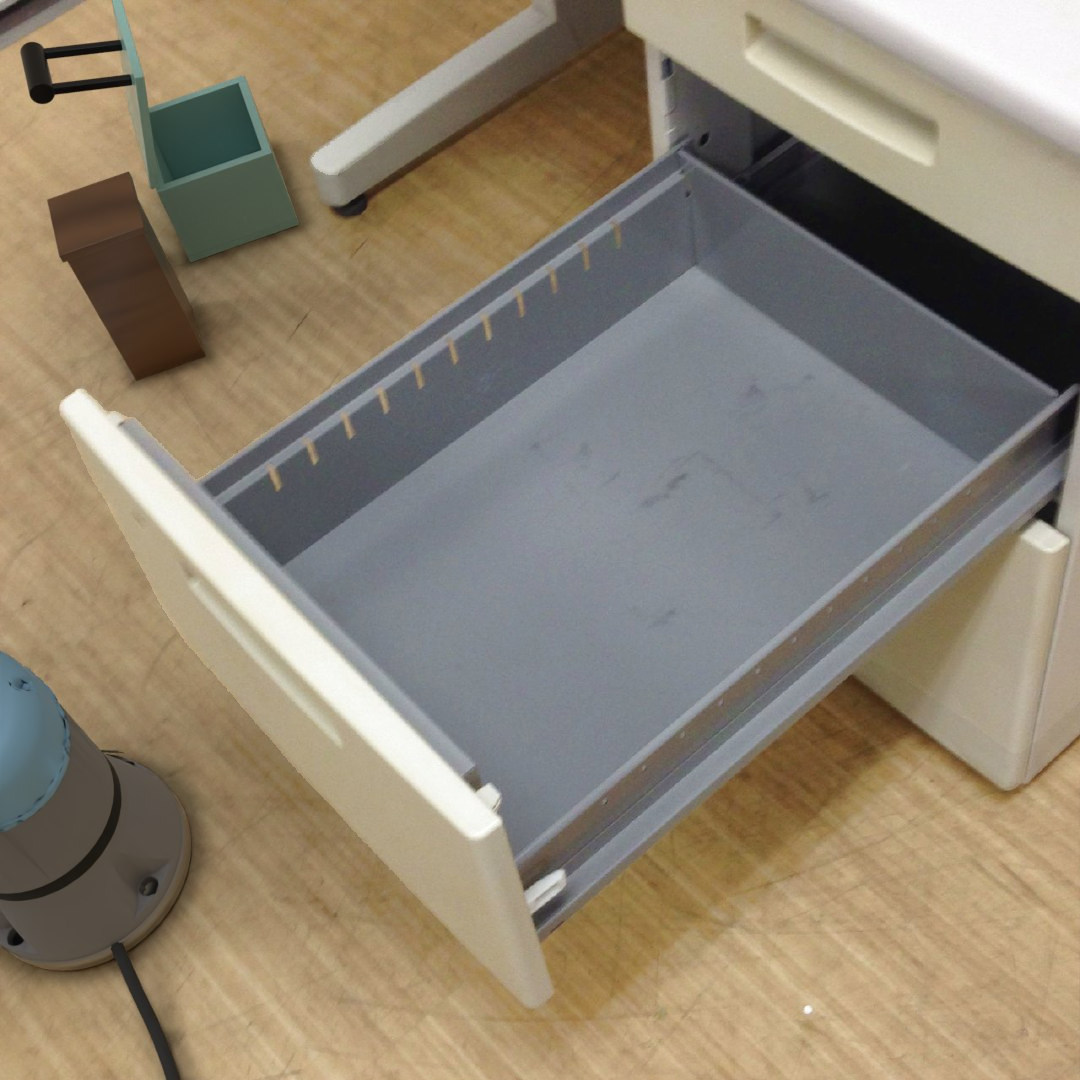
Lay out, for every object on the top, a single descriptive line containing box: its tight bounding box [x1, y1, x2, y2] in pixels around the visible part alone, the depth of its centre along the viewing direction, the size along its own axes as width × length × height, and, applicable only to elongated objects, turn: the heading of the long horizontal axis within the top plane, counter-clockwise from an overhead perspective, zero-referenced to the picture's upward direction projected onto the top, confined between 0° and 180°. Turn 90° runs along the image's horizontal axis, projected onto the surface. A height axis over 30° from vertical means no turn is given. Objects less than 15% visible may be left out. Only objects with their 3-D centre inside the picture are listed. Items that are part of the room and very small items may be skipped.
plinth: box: [46, 171, 206, 381], centre depth 128 cm, size 7×7×16 cm
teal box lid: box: [19, 0, 160, 190], centre depth 130 cm, size 11×12×9 cm
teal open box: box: [148, 74, 300, 263], centre depth 140 cm, size 11×12×9 cm
